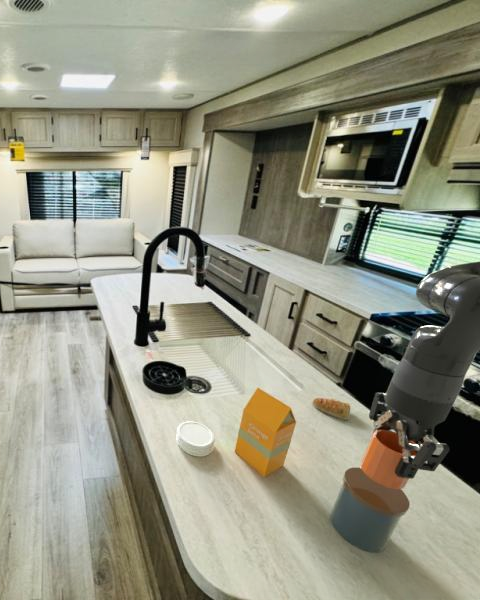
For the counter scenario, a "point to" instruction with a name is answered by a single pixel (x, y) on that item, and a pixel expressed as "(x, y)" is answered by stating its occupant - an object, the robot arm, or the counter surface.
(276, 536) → the counter surface
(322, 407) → the pastry
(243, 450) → the orange juice
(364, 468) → the cup
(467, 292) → the robot arm
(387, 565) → the counter surface
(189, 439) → the white round tub
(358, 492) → the jar
